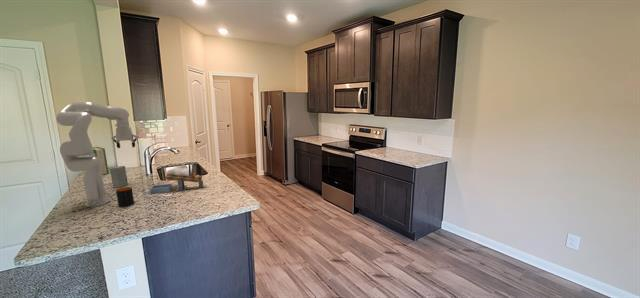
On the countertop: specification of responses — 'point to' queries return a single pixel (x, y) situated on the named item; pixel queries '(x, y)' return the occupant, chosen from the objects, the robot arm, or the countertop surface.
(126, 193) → the mug
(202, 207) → the countertop surface
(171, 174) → the brown flat board
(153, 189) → the dish
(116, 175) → the skincare box
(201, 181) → the rest block
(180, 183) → the fulcrum
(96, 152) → the hardback book
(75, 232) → the countertop surface
